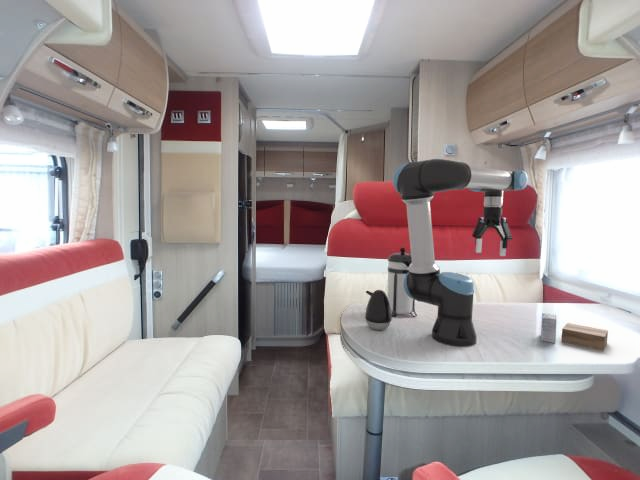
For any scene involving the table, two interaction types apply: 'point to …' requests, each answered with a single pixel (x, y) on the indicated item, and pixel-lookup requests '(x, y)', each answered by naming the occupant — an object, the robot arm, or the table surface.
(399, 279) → the coffee press
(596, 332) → the walnut block
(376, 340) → the table surface
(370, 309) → the pump dispenser
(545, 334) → the medicine box
